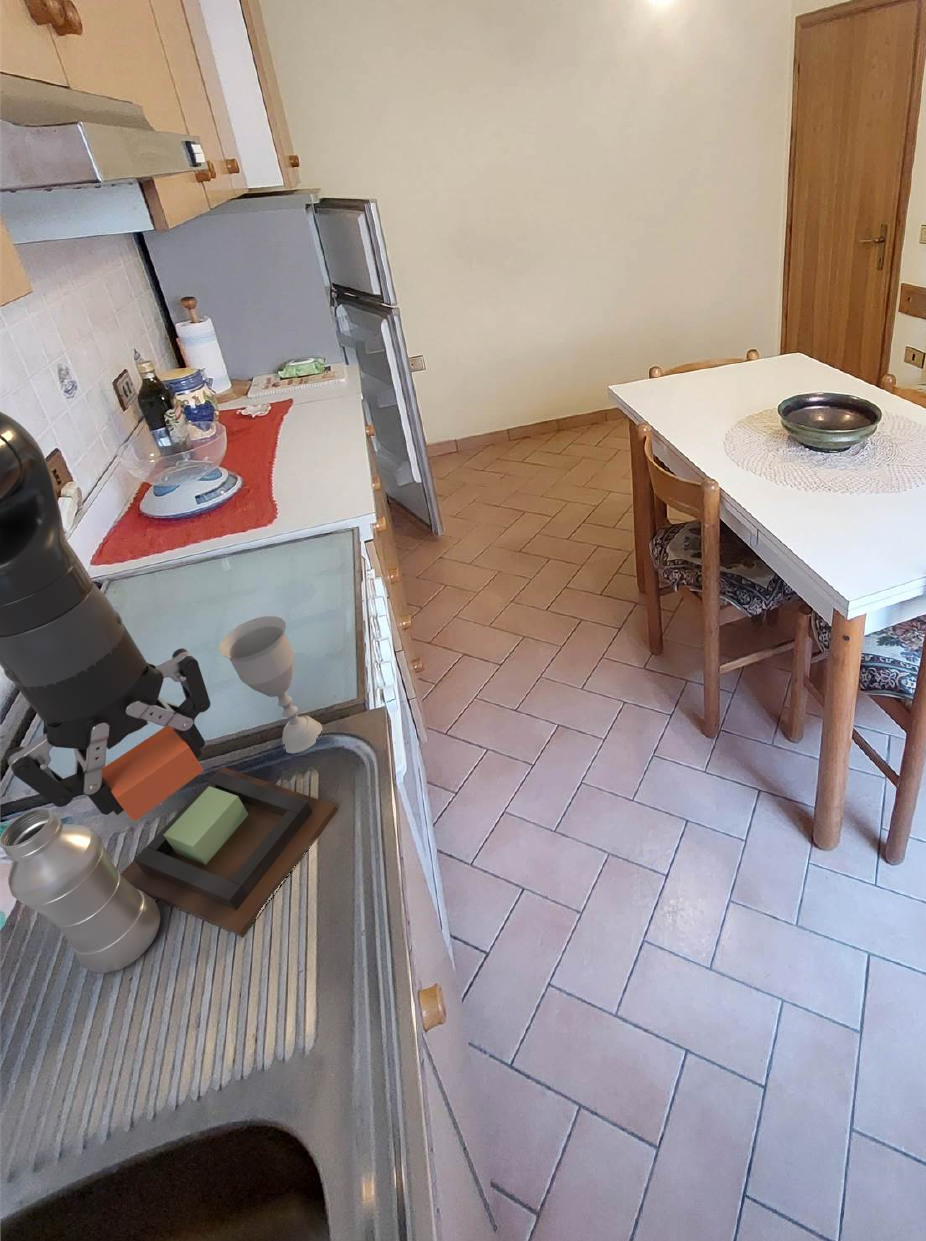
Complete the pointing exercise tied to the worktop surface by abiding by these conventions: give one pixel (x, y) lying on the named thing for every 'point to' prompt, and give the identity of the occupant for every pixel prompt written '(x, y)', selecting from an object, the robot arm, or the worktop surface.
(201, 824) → the sage pad
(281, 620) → the chalice
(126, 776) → the terracotta pad
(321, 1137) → the worktop surface
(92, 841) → the metal milk can
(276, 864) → the back frame
